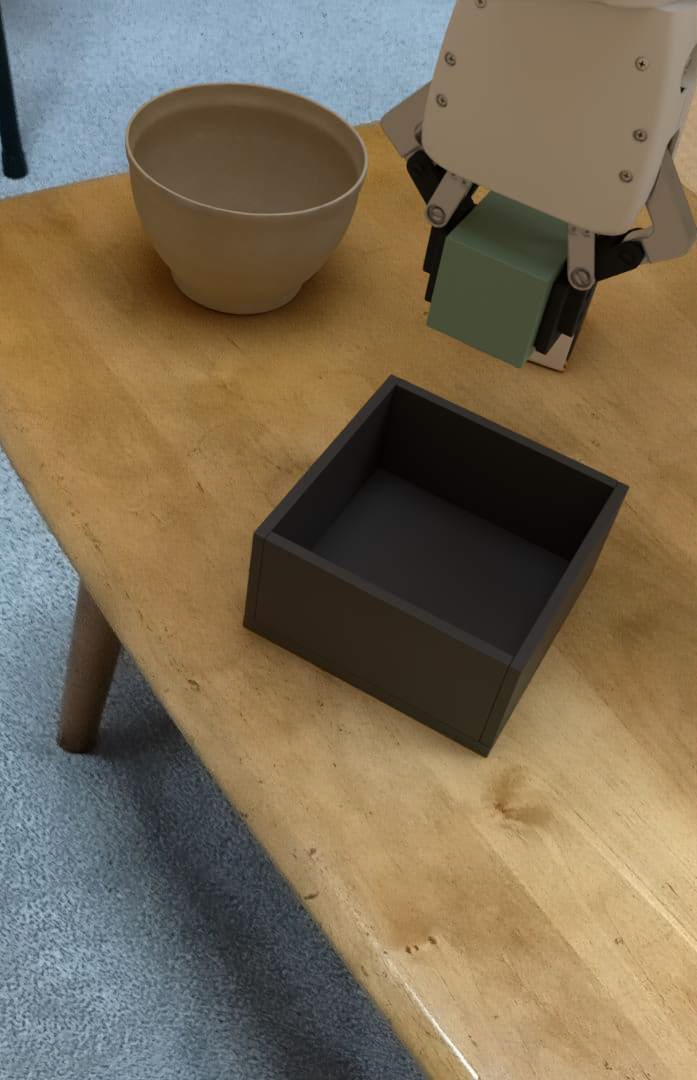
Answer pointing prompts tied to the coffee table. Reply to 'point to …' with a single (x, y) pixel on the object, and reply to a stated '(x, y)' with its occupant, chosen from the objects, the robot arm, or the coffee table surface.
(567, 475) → the basket
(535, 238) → the box
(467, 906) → the coffee table surface
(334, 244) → the planter bowl
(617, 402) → the coffee table surface
